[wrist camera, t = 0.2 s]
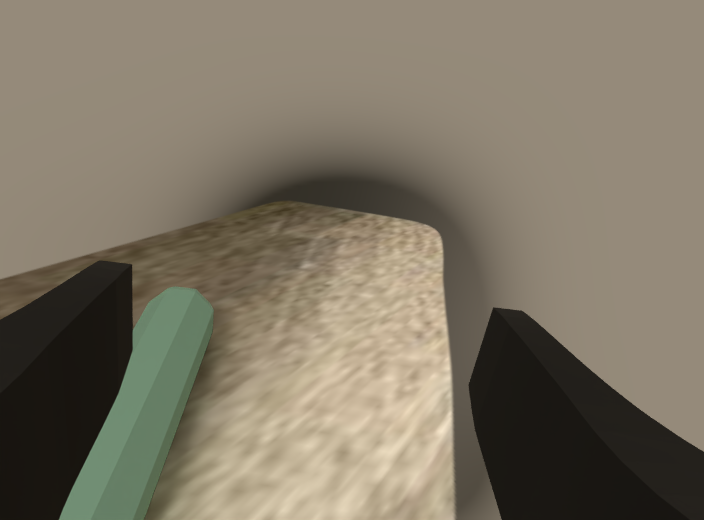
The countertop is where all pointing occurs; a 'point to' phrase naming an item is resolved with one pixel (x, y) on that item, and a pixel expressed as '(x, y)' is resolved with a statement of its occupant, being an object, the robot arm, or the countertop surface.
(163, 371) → the container
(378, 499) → the countertop surface
